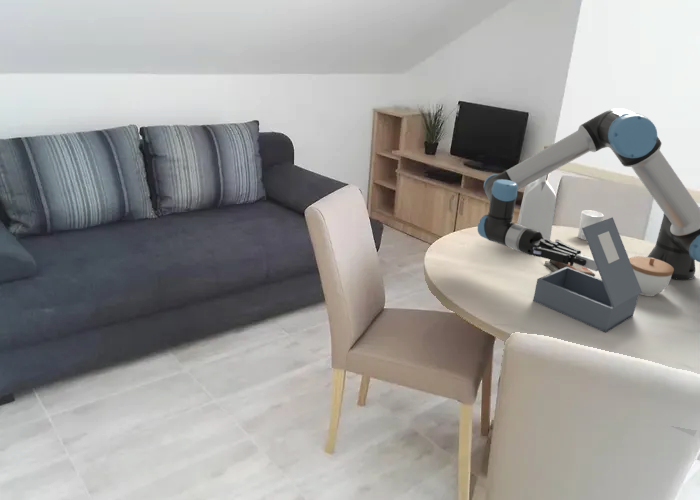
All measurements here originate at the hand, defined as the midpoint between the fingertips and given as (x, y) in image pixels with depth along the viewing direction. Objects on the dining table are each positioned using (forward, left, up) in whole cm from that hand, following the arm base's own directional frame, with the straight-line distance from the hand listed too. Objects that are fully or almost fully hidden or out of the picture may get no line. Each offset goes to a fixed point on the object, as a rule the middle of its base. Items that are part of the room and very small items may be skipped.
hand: (598, 266), depth 156 cm
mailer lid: (-3, +1, +2) cm, 4 cm away
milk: (+8, -57, -14) cm, 59 cm away
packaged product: (0, -26, -15) cm, 30 cm away
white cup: (-14, -66, -14) cm, 69 cm away
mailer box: (+1, -2, -14) cm, 14 cm away
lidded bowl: (-21, -20, -14) cm, 32 cm away
